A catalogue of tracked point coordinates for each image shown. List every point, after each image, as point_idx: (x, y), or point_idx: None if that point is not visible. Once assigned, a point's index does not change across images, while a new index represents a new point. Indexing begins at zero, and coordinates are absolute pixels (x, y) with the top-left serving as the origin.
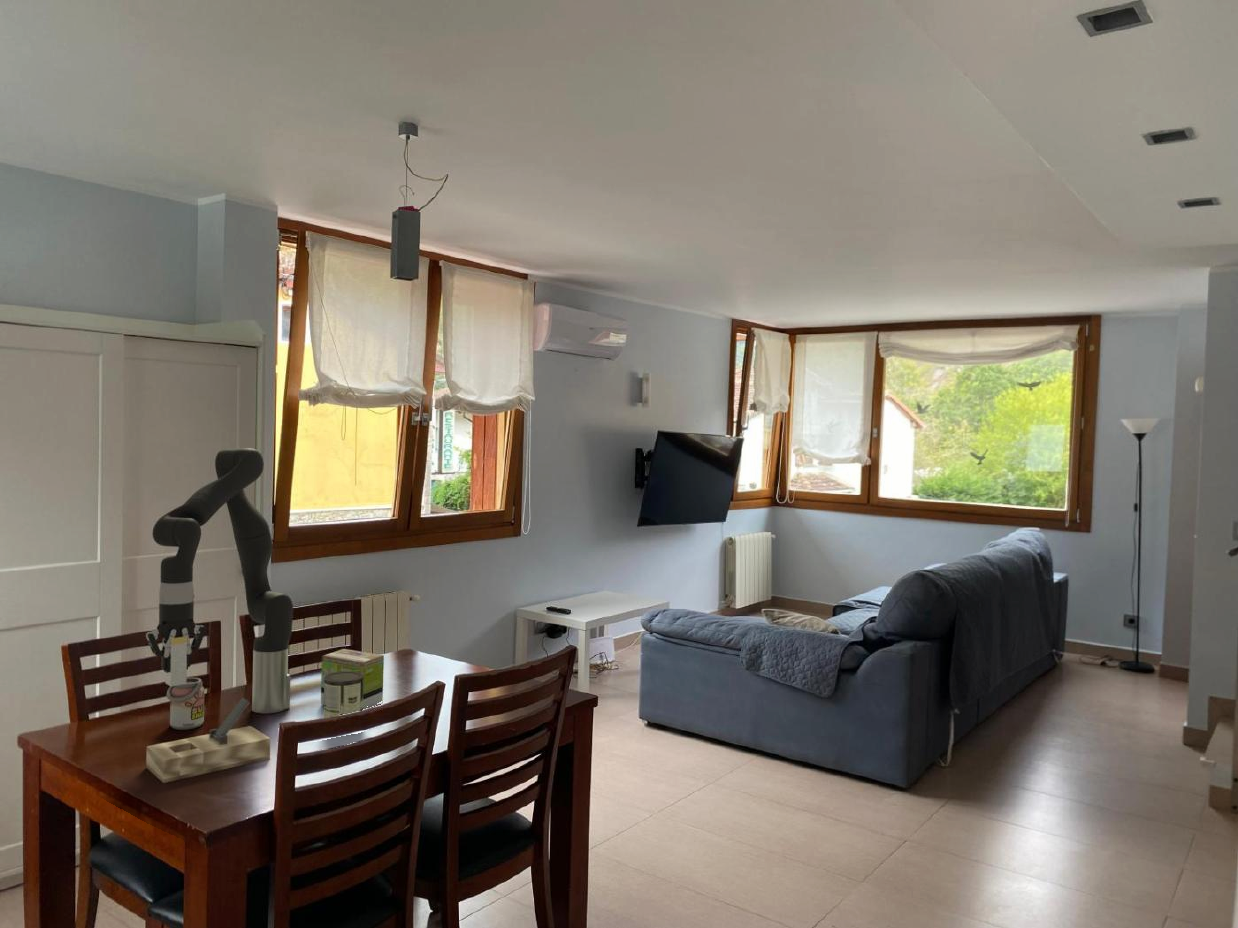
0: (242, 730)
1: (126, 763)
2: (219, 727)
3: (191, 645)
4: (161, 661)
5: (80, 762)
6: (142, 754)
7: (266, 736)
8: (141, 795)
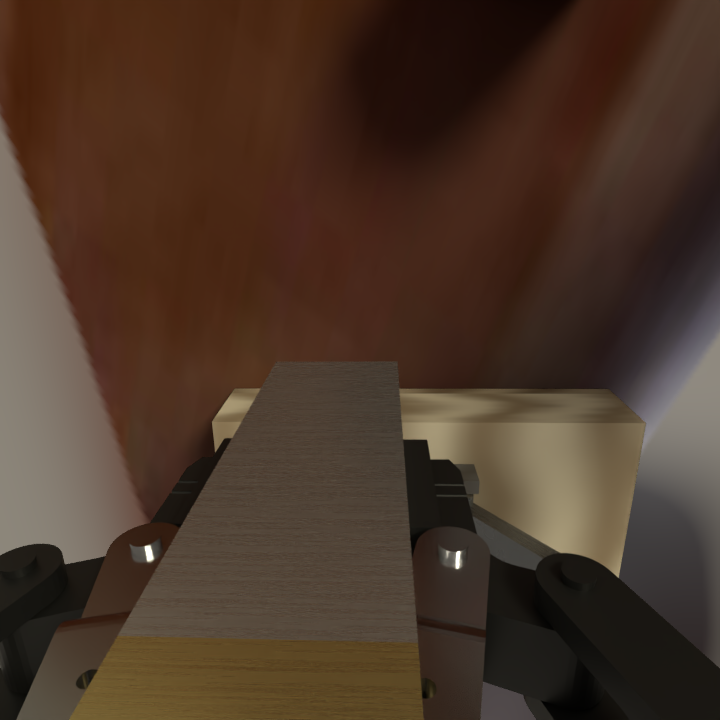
0: (587, 460)
1: (184, 303)
2: (479, 520)
3: (540, 633)
4: (162, 508)
5: (37, 182)
6: (254, 237)
7: (615, 574)
8: None
